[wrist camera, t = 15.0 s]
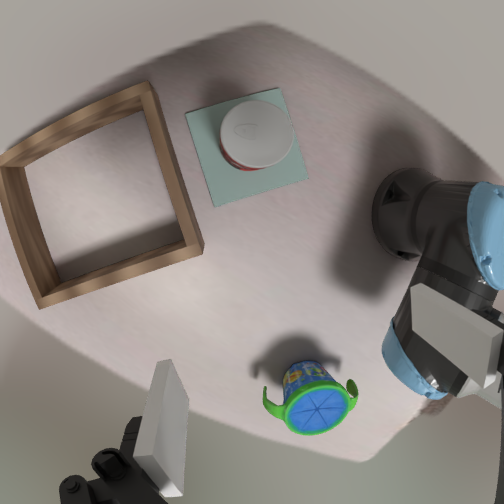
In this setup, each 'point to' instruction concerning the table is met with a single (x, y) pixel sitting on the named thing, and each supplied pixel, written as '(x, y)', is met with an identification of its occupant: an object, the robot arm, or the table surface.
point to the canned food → (255, 135)
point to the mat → (226, 176)
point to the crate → (26, 221)
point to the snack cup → (312, 399)
